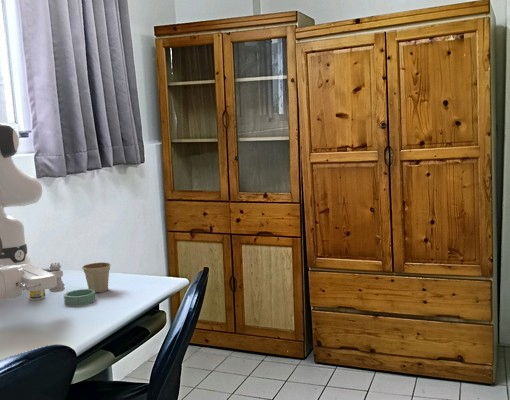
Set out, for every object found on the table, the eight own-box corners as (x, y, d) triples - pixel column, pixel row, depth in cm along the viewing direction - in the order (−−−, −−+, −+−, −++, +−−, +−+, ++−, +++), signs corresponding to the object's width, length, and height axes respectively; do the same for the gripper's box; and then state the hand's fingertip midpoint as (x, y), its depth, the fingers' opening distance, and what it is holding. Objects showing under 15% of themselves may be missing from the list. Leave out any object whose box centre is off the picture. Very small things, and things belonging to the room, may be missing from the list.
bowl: (58, 303, 184) (57, 295, 183) (81, 296, 191) (81, 287, 191) (78, 307, 179) (77, 298, 178) (101, 299, 186) (100, 290, 186)
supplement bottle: (38, 295, 195) (36, 270, 194) (48, 297, 193) (46, 271, 192) (26, 299, 191) (24, 273, 190) (36, 300, 189) (34, 275, 188)
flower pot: (105, 294, 192) (103, 268, 191) (78, 294, 194) (76, 268, 193) (117, 287, 201) (115, 262, 200) (92, 286, 203) (90, 262, 202)
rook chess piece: (46, 290, 172) (44, 264, 171) (60, 287, 175) (58, 261, 174) (53, 293, 169) (51, 266, 168) (68, 290, 172) (65, 263, 171)
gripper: (23, 276, 155) (73, 266, 164) (-4, 264, 170) (43, 256, 179) (25, 300, 156) (75, 288, 165) (-2, 286, 171) (45, 276, 180)
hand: (58, 271), depth 172 cm, fingers closed on rook chess piece, 3 cm apart
